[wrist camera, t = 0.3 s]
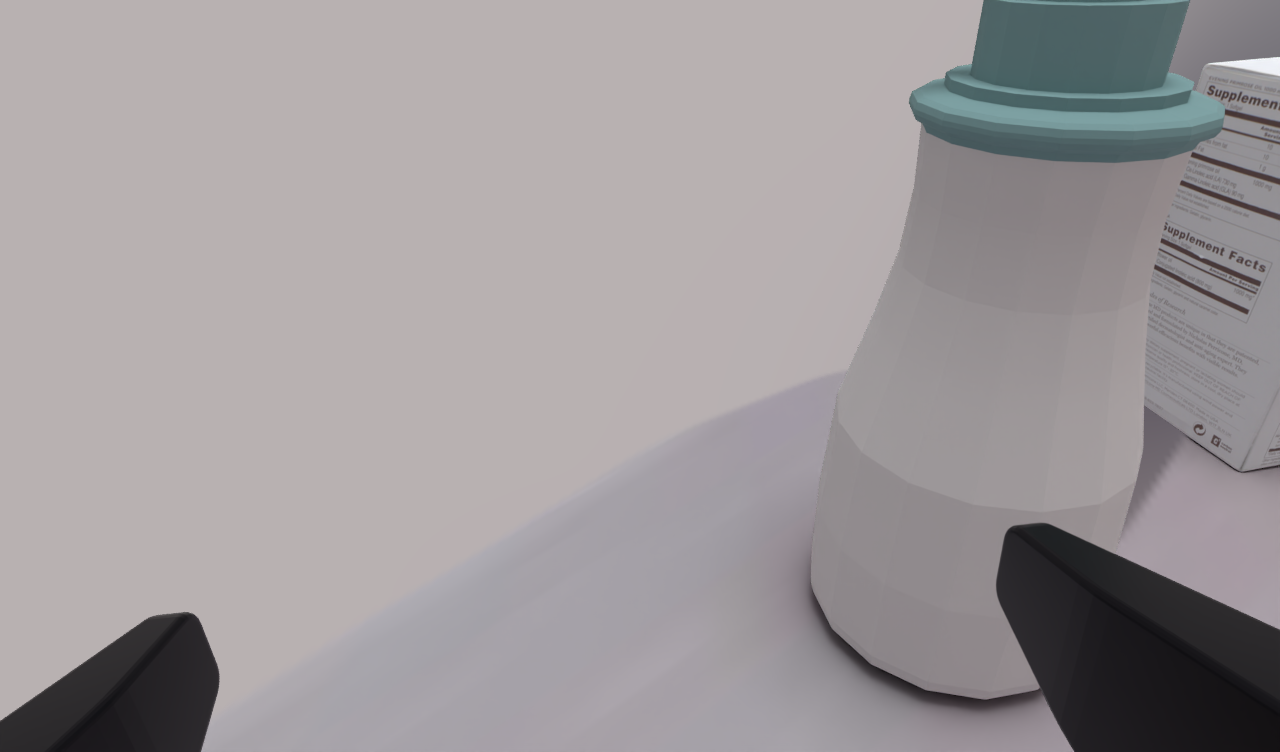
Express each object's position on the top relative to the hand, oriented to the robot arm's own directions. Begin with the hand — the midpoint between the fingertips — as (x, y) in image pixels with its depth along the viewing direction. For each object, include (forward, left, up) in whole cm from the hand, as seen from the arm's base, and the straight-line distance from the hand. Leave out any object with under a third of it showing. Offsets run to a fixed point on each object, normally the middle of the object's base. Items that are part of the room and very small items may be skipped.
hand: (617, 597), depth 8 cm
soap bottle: (+14, -12, -16) cm, 25 cm away
